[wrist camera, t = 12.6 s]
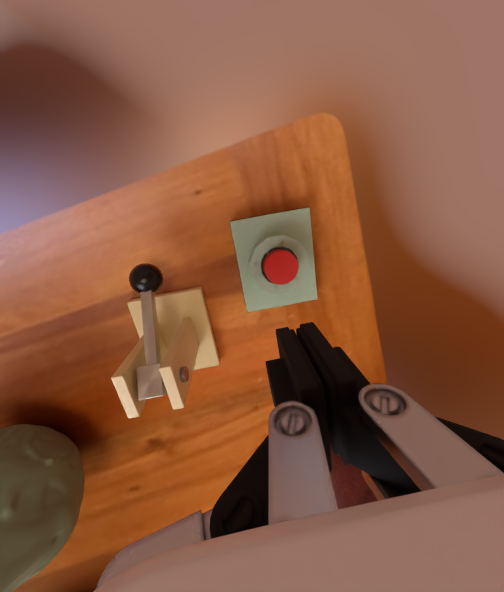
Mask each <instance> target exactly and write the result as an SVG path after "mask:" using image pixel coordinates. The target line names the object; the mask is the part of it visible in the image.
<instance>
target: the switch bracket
mask: <svg viewBox="0 0 504 592" xmlns="http://www.w3.org/2000/svg"><path fill="white" fill-rule="evenodd" d="M155 300H156V311H157V322H158V332H159V343H160V354H161V365H160V367H159V370H160V373H161V376H162V379H163V382H164V385H165V388H166V390H167V393H168V396H169V399H170V402H171V405H172V408H173V410H174V409H179V408H184V406H185V402H186V398H187V394H188V390H189V386H190V382H191V378H192V374H193V370H197V369H202V368H207V367H212V366H217V365H220V358H219V354H218V350H217V346H216V342H215V338H214V334H213V330H212V326H211V322H210V318H209V314H208V310H207V306H206V302H205V298H204V294H203V290H202V286H200V287H195V288H189V289H184V290H178V291H173V292H168V293H162V294H157V295H155ZM127 304H128V307H129V310H130V313H131V316H132V318H133V321H134V324H135V327H136V329H137V332H138V335H139V338H140V340H139V341H138V343H137V344H136V345H135V347H134V348H133V349H132V351H131V352H130V353H129V355H128V356H127V357H126V359H125V360H124V361H123V363H122V364H121V365H120V367H119V368H118V369H117V370H116V372H115V373H114V374H113V376H112V377H111V379H112V382H113V384H114V386H115V389H116V391H117V393H118V396H119V398H120V400H121V403H122V405H123V407H124V410H125V412H126V414H127V416H128V418H134V417H139V416H140V414H141V412H142V410H143V407H144V405H145V403H146V401H147V399H143V400H138V386H137V371H136V368H137V367H141V366H146V361H145V348H144V335H143V321H142V308H141V298H136V299H131V300H129V301H128V302H127Z"/></svg>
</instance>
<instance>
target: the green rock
mask: <svg viewBox="0 0 504 592" xmlns="http://www.w3.org/2000/svg"><path fill="white" fill-rule="evenodd" d="M83 492H84V470H83V464H82V459H81V456H80V453H79V450H78V448H77V446H76V445H75V444H74V443H73V442H72V441H71V440H70V439H69V438H68V437H67V436H66V435H64V434H62V433H59V432H57V431H55V430H53V429H52V428H50V427H46V426H40V425H30V424H17V425H11V426H7V427H4V428H0V592H13V591H14V590H15V589H16V588H17V587H19V586H20V585H22V584H23V583H24V582H26V581H27V580H29V579H30V578H31V577H33V576H34V575H36V574H38V573H39V572H40V571H42V570H43V569H44V568H45V567H46V566H47V565H48V564H49V563H50V562H51V560H52V559H53V558H54V557H55V556H56V555H57V554H58V553H59V551H60V550H61V549H62V547H63V546H64V545H65V543H66V542H67V540H68V539H69V537H70V535H71V534H72V532H73V530H74V528H75V526H76V523H77V521H78V517H79V512H80V506H81V503H82V499H83Z"/></svg>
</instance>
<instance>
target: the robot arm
mask: <svg viewBox="0 0 504 592" xmlns="http://www.w3.org/2000/svg"><path fill="white" fill-rule="evenodd" d="M296 332H297V335H296V333H295V331H294V330H293V329H292V330H289V328H288V327H285V328H280V329H276V336H277V342H278V348H279V354H280V359H275V360H270V361H266V367H267V373H268V378H269V383H270V388H271V393H272V397H273V402H274V406H275V408H274V409H273V410H272V412H271V414H270V416H269V435H268V436H267V437H266V438H265V440H264V441H263V442H262V444H261V445H260V446H259V447H258V449H257V450H256V451H255V453H254V454H253V455H252V456H251V458H250V459H249V460H248V462H247V463H246V464H245V465H244V467H243V468H242V469H241V471H240V472H239V473H238V474H237V476H236V477H235V478H234V480H233V481H232V482H231V483H230V485H229V486H228V487H227V489H226V490H225V491H224V492H223V494H222V495H221V496H220V498H219V499H218V501H217V502H216V504H215V506H214V508H213V509H211V510H209V511H207V512H205V513H203V514H202V512H201V510H199V511H197V512H195V513H193V514H191V515H189V516H187V517H185V518H183V519H181V520H179V521H177V522H175V523H173V524H171V525H169V526H167V527H165V528H163V529H161V530H159V531H157V532H155V533H152V534H150V535H148V536H146V537H144V538H142V539H140V540H138V541H136V542H134V543H132V544H130V545H128V546H127V547H125V548H124V549H123V550H121V551H120V552H118V553H117V554H116V556H115V557H114V558H113V559H112V560H111V561H110V562H109V564H108V565H107V567H106V568H105V570H104V572H103V574H102V575H101V577H100V579H99V582H98V585H97V588H96V590H95V591H93V592H504V440H502V439H500V438H497V437H494V436H491V435H488V434H485V433H482V432H479V431H476V430H473V429H470V428H467V427H464V426H461V425H458V424H455V423H452V422H450V421H447V420H444V419H440V418H437V417H434V416H432V414H430V413H429V412H428V411H427V410H425V409H424V408H423V407H422V406H420V405H419V404H418V403H417V402H415V401H414V400H413V399H412V398H411V397H409V396H408V395H407V394H405V393H404V392H402V391H401V390H400V389H398V388H396V387H393V386H391V385H386V384H370V383H369V382H368V380H367V379H366V378H365V377H364V376H363V374H362V373H361V372H360V371H359V369H358V368H357V367H356V366H355V365H354V363H353V362H352V361H351V360H350V359H349V357H348V356H347V355H346V354H345V352H344V351H343V350H342V349H341V348H340V347H334V348H332V346H331V345H330V344H329V342H328V341H327V340H326V339H325V337H324V336H323V335H322V333H321V332H320V331H319V329H318V328H317V327H316V325H315V324H314V323H313V322H310V323H305V324H300V328H297V329H296ZM330 446H331V449H332V451H333V453H334V455H335V456H336V455H340V457H341V459H342V461H343V463H344V465H348V464H352V465H353V466H355V467H357V468H358V469H360V470H361V472H362V475H363V477H364V479H365V481H366V483H367V484H368V486H369V487H370V489H371V490H372V492H373V493H374V495H375V496H376V498H377V499H378V501H375V502H370V503H366V504H361V505H356V506H352V507H347V508H343V509H338V507H337V502H336V498H335V494H334V489H333V485H332V481H331V476H330V473H331V471H332V461H331V450H330Z"/></svg>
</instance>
